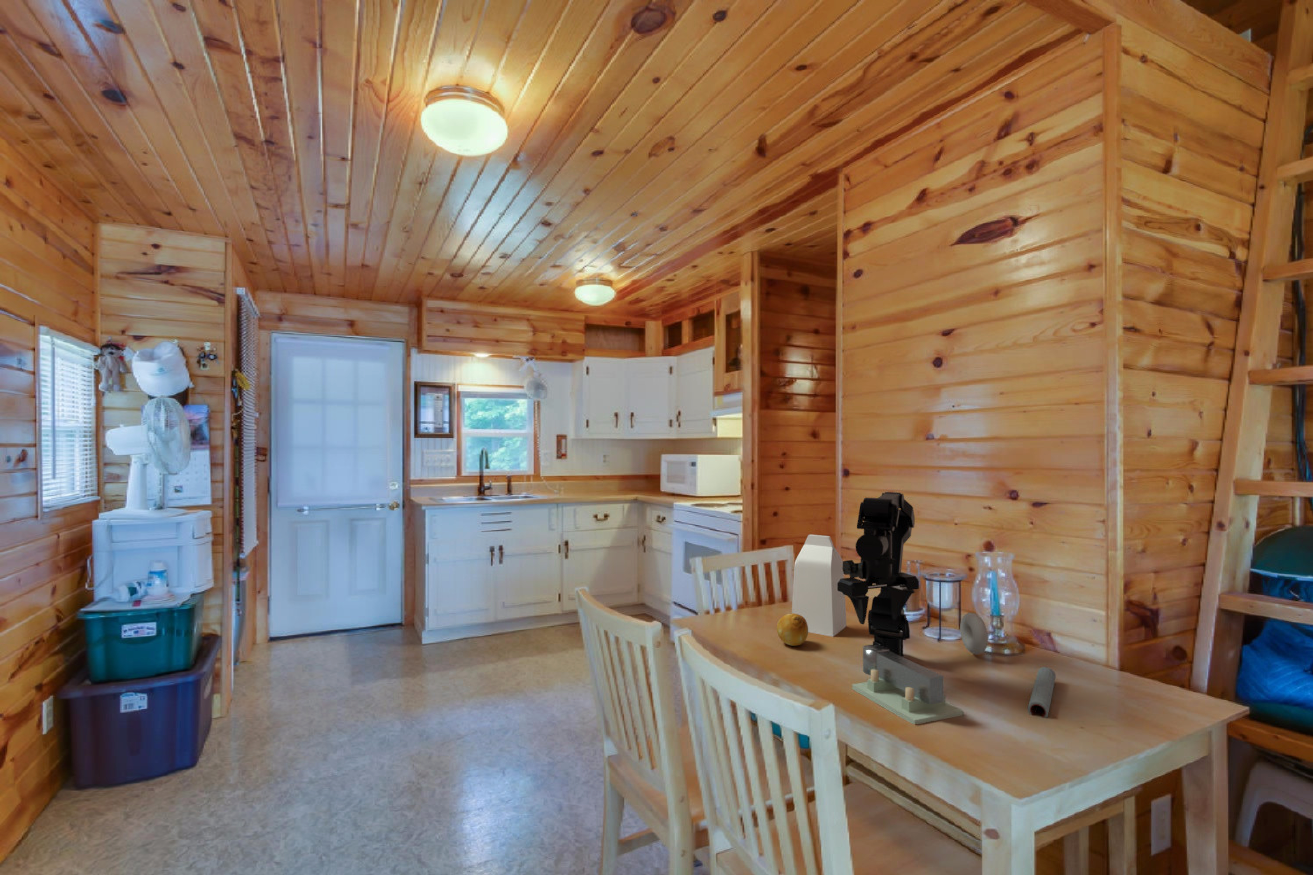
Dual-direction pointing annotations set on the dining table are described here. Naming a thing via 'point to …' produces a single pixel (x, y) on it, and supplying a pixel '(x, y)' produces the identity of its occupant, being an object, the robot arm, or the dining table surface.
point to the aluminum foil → (1042, 691)
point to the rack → (904, 701)
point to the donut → (974, 633)
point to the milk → (819, 586)
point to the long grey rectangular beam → (903, 673)
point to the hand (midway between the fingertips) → (878, 621)
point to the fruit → (792, 629)
